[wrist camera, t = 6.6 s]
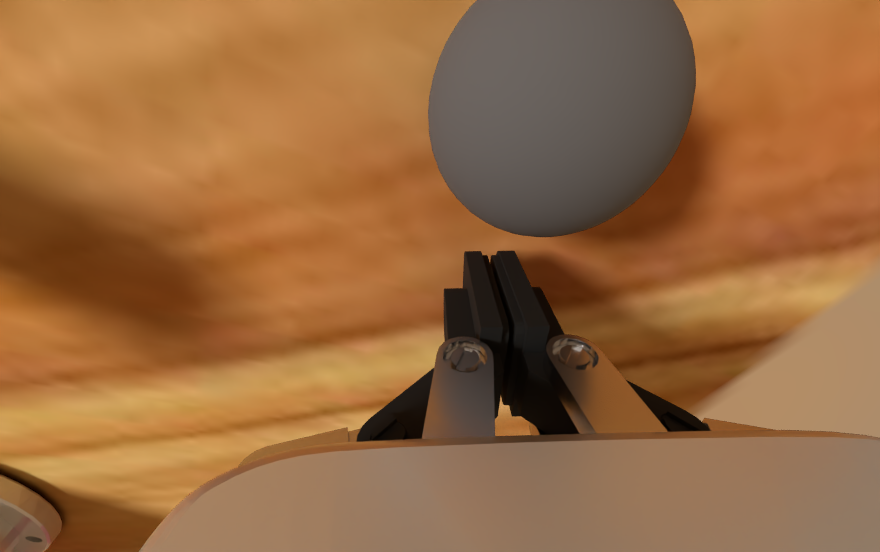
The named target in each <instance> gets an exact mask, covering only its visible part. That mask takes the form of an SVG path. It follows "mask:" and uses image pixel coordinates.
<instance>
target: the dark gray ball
mask: <svg viewBox="0 0 880 552" xmlns="http://www.w3.org/2000/svg"><path fill="white" fill-rule="evenodd" d="M695 86H696V68H695V56H694V50H693V44H692V40H691V37H690V35H689V32H688V29H687V26H686V24H685V21H684V18H683V16H682V14H681V12H680V10H679V9H678V7H677V6H676V4H675V2H674V1H673V0H477V1H476V2H475V3H474V4H473V5H472V6H471V7H470V8H469V9H468V11H467V12H466V13H465V14H464V16H463V17H462V18H461V20H460V21H459V22H458V24H457V25H456V27H455V28H454V30H453V32H452V33H451V35H450V37H449V38H448V40H447V42H446V44H445V47H444V49H443V51H442V53H441V55H440V58H439V61H438V64H437V67H436V70H435V73H434V77H433V81H432V86H431V91H430V96H429V109H428V118H429V134H430V140H431V145H432V150H433V153H434V156H435V159H436V162H437V165H438V168H439V171H440V172H441V174H442V176H443V178H444V180H445V182H446V183H447V185H448V187H449V188H450V190H451V191H452V192H453V194H454V195H455V196H456V198H457V199H458V200H459V201H460V202H461V203H462V204H463V205H464V206H465V207H466V208H467V209H468V210H469V211H470V212H472V213H473V214H474V215H476V216H477V217H479V218H480V219H482V220H483V221H485V222H486V223H488V224H490V225H492V226H494V227H496V228H499V229H502V230H505V231H508V232H510V233H514V234H518V235H523V236H534V237H554V236H562V235H567V234H572V233H576V232H580V231H583V230H586V229H589V228H592V227H594V226H597V225H599V224H601V223H603V222H605V221H607V220H609V219H611V218H612V217H614V216H616V215H617V214H619V213H620V212H622V211H624V210H625V209H626V208H628V207H629V206H630V205H631V204H633V203H634V202H635V201H636V200H637V199H639V198H640V197H641V196H642V195H643V194H644V193H645V192H646V191H647V190H648V189H649V188H650V187H651V186H652V184H653V183H654V182H655V181H656V180H657V179H658V177H659V176H660V175H661V174H662V173H663V171H664V170H665V168H666V167H667V165H668V164H669V162H670V161H671V159H672V157H673V156H674V154H675V152H676V150H677V148H678V146H679V144H680V142H681V139H682V137H683V135H684V132H685V130H686V128H687V125H688V121H689V118H690V115H691V110H692V105H693V99H694V93H695Z"/></svg>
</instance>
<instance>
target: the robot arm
mask: <svg viewBox="0 0 880 552" xmlns="http://www.w3.org/2000/svg"><path fill="white" fill-rule="evenodd" d="M444 335H445V342H444V343H443V344H442V345H441V346H440V347H439V349H438V352H437V356H436V362H435V367H434V368H433V369H432V370H431V371H429V372H428V373H427V374H426V375H424V376H423V377H422V378H421V379H419V380H418V381H417V382H415V383H414V384H413V385H412V386H410V387H409V388H408V389H407V390H405V391H404V392H403V393H402V394H400V395H399V396H398V397H396V398H395V399H394V400H393V401H391V402H390V403H389V404H388V405H386V406H385V407H384V408H383V409H381V410H380V411H379V412H377V413H376V414H375V415H374V416H372V417H371V418H370V419H369V420H368V421H367V422H366V423H365V424H364V425H363V426H362V428H361V429H357V430H353V431H349V432H348V428H347V427H346V428H342V429H338V430H334V431H330V432H325V433H321V434H317V435H313V436H309V437H304V438H300V439H296V440H292V441H288V442H283V443H279V444H275V445H271V446H267V447H264V448H262V449H259V450H257V451H255V452H253V453H252V454H250V455H249V456H248V457H246V458H245V459H244V460H243V461H242V462H241V463H240V465H239V466H238V467H236V468H234V469H232V470H230V471H228V472H225V473H223V474H221V475H219V476H217V477H216V478H214V479H212V480H210V481H208V482H207V483H205V484H203V485H202V486H200V487H199V488H197V489H196V490H195V491H193V492H192V493H190V494H189V495H188V496H186V497H185V498H184V499H183V500H182V501H181V502H180V503H179V504H178V505H177V506H176V507H175V508H174V509H173V510H172V511H171V512H170V513H169V514H168V515H167V516H166V517H165V518H164V520H163V521H162V522H161V523H160V524H159V526H158V527H157V528H156V529H155V531H154V532H153V533H152V534H151V536H150V537H149V538H148V540H147V541H146V542H145V544H144V545H143V546H142V548H141V549H140V550H139V552H880V438H878V437H872V436H866V435H859V434H849V433H839V432H824V431H799V430H797V431H796V430H773V429H766V428H760V427H755V426H749V425H742V424H737V423H731V422H725V421H719V420H713V419H707V418H704V420H703V421H702V422H701V421H700V420H699V419H698V418H697V417H695V416H693V415H692V414H690V413H689V412H687V411H685V410H683V409H681V408H679V407H677V406H676V405H674V404H672V403H670V402H668V401H666V400H664V399H662V398H660V397H658V396H656V395H654V394H652V393H650V392H648V391H646V390H644V389H643V388H641V387H639V386H637V385H635V384H633V383H631V382H629V381H627V380H625V379H624V378H623V376H622V375H621V374H620V373H619V371H618V370H617V369H616V368H615V367H614V365H613V364H612V363H611V362H610V361H609V359H608V358H607V357H606V356H605V355H604V353H603V352H602V351H601V350H600V349H599V348H598V347H597V346H596V345H595V344H594V343H592V342H590V341H589V340H587V339H585V338H582V337H579V336H575V335H564V333H563V331H562V329H561V327H560V325H559V323H558V321H557V319H556V317H555V315H554V313H553V311H552V309H551V307H550V305H549V303H548V301H547V299H546V297H545V295H544V293H543V291H542V290H541V288H539V287H531V285H530V283H529V281H528V279H527V277H526V274H525V272H524V270H523V268H522V266H521V264H520V262H519V260H518V257H517V255H516V253H515V251H497V254H496V255H492V256H491V261H490V262H489V259H488V256H487V255H482V253H481V251H465V253H464V272H463V288H455V289H444ZM500 396H501V397H502V402H503V404H504V405H509V406H510V411H511V415H512V416H522V417H523V418H524V419H526V420H527V421H529V429H530V433H531V435H523V436H495V418H496V417H497V416H498V410H499V403H500ZM61 528H62V521H61V518H60V516H59V513H58V512H57V511H56V510H55V508H54V507H53V506H52V505H51V504H50V503H49V502H48V501H46V500H45V499H44V498H43V497H41V496H40V495H39V494H37V493H36V492H34V491H32V490H31V489H29V488H27V487H26V486H24V485H22V484H20V483H18V482H16V481H14V480H12V479H10V478H8V477H6V476H3V475H1V474H0V552H44V551H45V550H46V549H48V547H49V546H50V545H51V544H52V542H53V541H54V540H55V538H56V537H57V536H58V534H59V533H60V532H61Z"/></svg>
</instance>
